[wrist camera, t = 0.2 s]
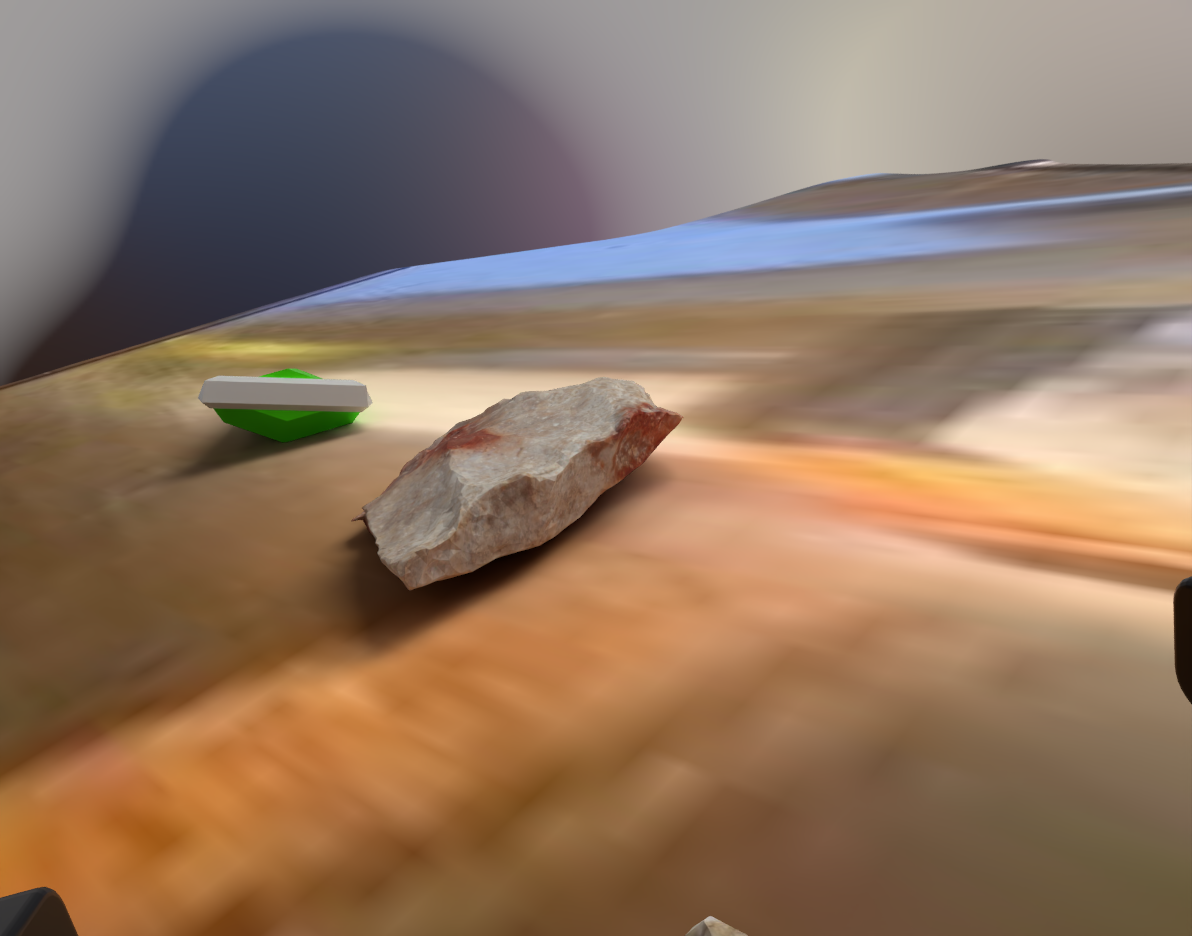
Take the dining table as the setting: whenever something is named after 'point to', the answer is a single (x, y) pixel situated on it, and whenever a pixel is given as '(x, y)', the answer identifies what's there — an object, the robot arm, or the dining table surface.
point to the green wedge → (285, 403)
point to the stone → (512, 477)
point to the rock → (713, 929)
